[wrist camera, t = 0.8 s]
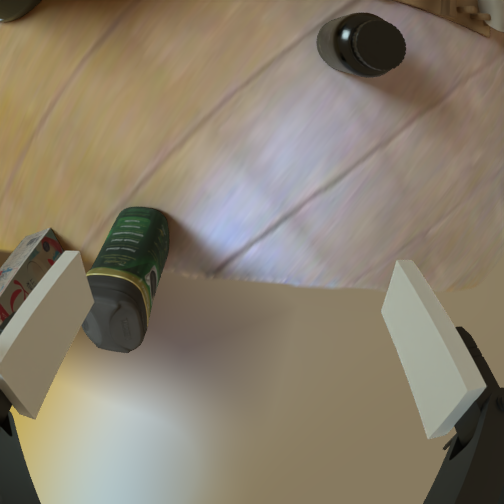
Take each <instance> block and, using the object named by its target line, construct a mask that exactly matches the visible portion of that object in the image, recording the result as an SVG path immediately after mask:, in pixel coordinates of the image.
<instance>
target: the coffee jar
mask: <svg viewBox="0 0 504 504" xmlns="http://www.w3.org/2000/svg"><path fill="white" fill-rule="evenodd" d="M168 250H169V230H168V224H167V220H166V218H165V217H164V215H163V214H161V213H160V212H159V211H157V210H155V209H152V208H146V207H130V208H126V209H124V210H123V211H121V213H120V214H119V216H118V217H117V219H116V221H115V223H114V224H113V226H112V228H111V230H110V232H109V234H108V237H107V239H106V241H105V243H104V245H103V246H102V248H101V250H100V252H99V254H98V256H97V258H96V260H95V262H94V264H93V266H92V268H91V269H90V271H88V272H87V273H86V276H87V280H88V283H89V286H90V290H91V293H92V296H93V299H94V304H93V305H92V307H91V309H90V311H89V312H88V314H87V316H86V318H85V320H84V321H83V323H82V328H83V330H84V332H85V333H86V335H87V336H88V337H89V339H90V340H91V341H92V342H93V343H94V344H95V345H96V346H97V347H98V348H101V349H105V350H110V351H116V352H123V353H129V352H130V351H132V350H134V349H136V348H137V347H138V346H140V345H141V343H142V341H143V339H144V336H145V333H146V331H147V327H148V322H149V317H150V312H151V307H152V303H153V300H154V296H155V293H156V289H157V286H158V283H159V280H160V277H161V273H162V271H163V268H164V265H165V262H166V259H167V256H168Z"/></svg>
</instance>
